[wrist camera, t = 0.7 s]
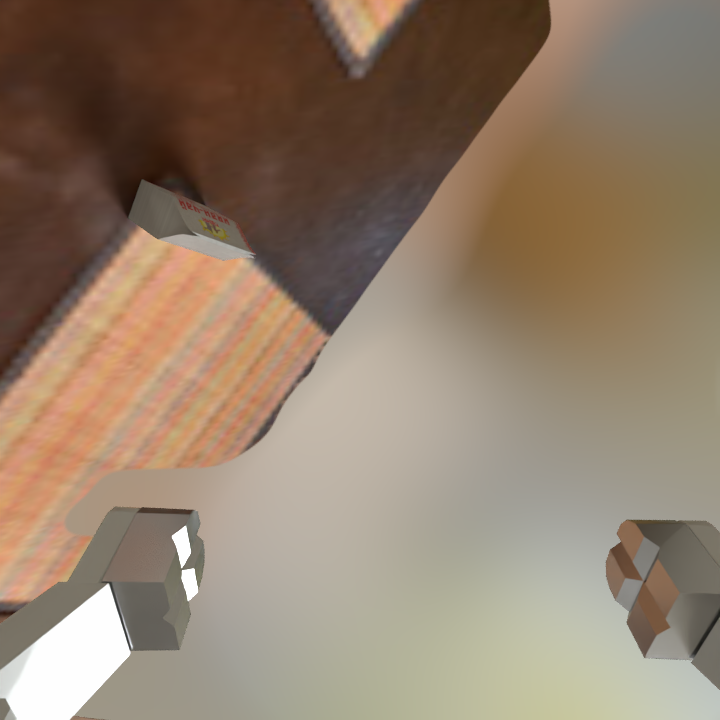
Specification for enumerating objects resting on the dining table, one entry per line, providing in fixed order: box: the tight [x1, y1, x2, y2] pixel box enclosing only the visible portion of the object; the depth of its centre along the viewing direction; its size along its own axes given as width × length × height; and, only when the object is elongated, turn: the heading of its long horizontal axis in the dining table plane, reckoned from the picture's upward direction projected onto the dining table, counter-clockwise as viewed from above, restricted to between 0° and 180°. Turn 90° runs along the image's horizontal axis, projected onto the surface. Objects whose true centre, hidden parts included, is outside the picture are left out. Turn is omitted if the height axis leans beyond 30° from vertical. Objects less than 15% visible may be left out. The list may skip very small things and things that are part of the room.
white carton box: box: [128, 179, 256, 261], centre depth 45 cm, size 4×7×10 cm, turn 54°
